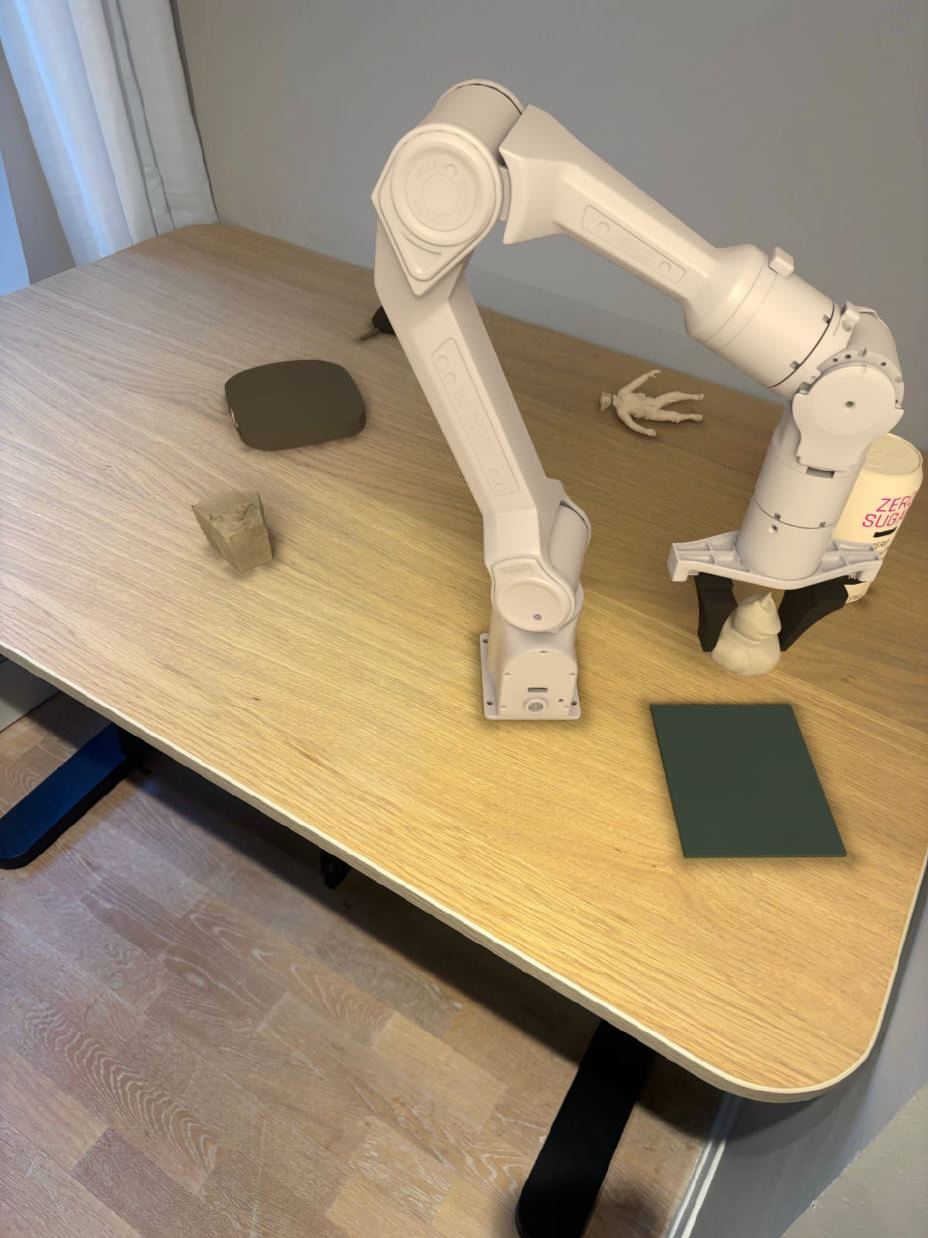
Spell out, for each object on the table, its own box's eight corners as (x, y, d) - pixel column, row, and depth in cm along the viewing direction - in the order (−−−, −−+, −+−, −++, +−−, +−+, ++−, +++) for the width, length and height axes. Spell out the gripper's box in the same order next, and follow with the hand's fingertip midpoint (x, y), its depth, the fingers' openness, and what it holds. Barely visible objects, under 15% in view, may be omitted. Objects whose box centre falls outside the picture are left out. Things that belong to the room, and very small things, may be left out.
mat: (845, 857, 64) (847, 854, 64) (684, 858, 63) (685, 855, 63) (789, 707, 74) (791, 704, 73) (649, 707, 73) (650, 704, 73)
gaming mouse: (345, 331, 116) (344, 303, 114) (424, 298, 124) (425, 270, 121) (377, 349, 114) (376, 320, 111) (456, 313, 121) (457, 286, 119)
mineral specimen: (178, 557, 83) (177, 481, 78) (258, 537, 88) (262, 465, 83) (216, 597, 79) (218, 521, 74) (298, 574, 84) (304, 501, 80)
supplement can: (799, 541, 89) (851, 414, 79) (878, 578, 86) (943, 449, 75) (764, 581, 85) (815, 452, 74) (846, 621, 81) (911, 492, 71)
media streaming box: (374, 435, 100) (373, 412, 97) (246, 458, 95) (242, 435, 93) (339, 372, 109) (337, 350, 107) (221, 391, 105) (217, 369, 103)
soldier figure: (701, 444, 103) (616, 426, 98) (675, 450, 107) (593, 433, 102) (707, 378, 103) (622, 357, 98) (680, 388, 108) (598, 368, 103)
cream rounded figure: (747, 700, 66) (778, 626, 60) (677, 651, 69) (701, 577, 63) (787, 665, 68) (821, 592, 63) (718, 620, 72) (744, 545, 66)
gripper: (880, 466, 61) (816, 605, 70) (676, 464, 60) (639, 605, 70) (922, 531, 56) (847, 671, 65) (699, 530, 55) (657, 672, 65)
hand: (742, 642), depth 67 cm, fingers closed on cream rounded figure, 5 cm apart
